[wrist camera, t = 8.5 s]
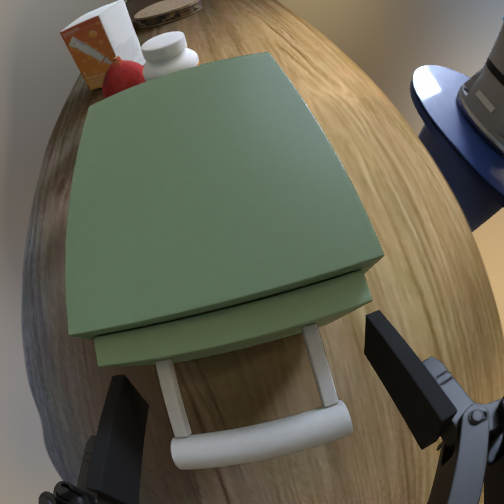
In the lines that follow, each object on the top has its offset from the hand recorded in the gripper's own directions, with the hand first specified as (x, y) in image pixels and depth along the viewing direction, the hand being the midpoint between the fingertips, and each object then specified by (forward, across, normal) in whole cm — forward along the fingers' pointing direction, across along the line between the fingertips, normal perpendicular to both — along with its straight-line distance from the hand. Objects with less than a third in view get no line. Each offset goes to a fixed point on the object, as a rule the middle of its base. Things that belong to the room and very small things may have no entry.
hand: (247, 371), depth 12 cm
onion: (+25, -7, +17) cm, 32 cm away
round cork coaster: (+54, -2, +46) cm, 71 cm away
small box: (+34, -11, +26) cm, 44 cm away
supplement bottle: (+22, -1, +14) cm, 26 cm away
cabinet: (+10, 0, +3) cm, 11 cm away
